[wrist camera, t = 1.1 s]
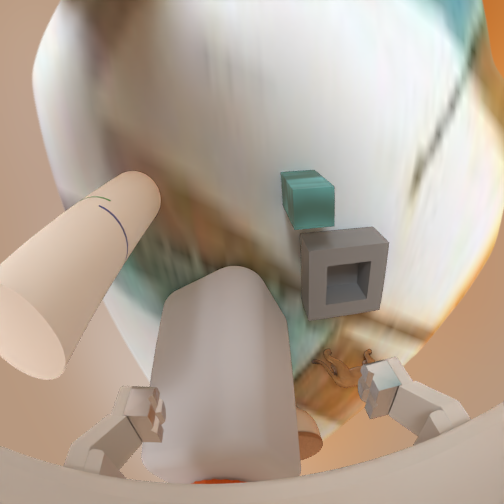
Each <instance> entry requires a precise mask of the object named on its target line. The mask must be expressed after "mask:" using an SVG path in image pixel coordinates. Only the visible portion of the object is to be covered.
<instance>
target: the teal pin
mask: <svg viewBox="0 0 504 504" xmlns="http://www.w3.org/2000/svg"><path fill="white" fill-rule="evenodd" d="M281 183H282V199H283V206H284V208H285V210H286V212H287V215H288V217H289V219H290V221H291V223H292V225H293V228H294V230H299V229H310V228H320V227H331V226H334V209H335V197H334V186H333V185H332V184H331V183H329V182H328V181H327V180H326V179H325V178H323V177H322V176H321V175H320V174H319V173H317V172H316V171H315V170H305V171H291V172H281Z"/></svg>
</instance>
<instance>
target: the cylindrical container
mask: <svg viewBox="0 0 504 504" xmlns="http://www.w3.org/2000/svg"><path fill="white" fill-rule="evenodd" d="M160 204H161V196H160V192H159V189H158V187H157V185H156V183H155V182H154V181H153V180H152V179H151V178H150V177H149V176H147V175H146V174H144V173H141V172H138V171H127V172H124V173H122V174H120V175H118V176H117V177H115V178H113V179H112V180H110V181H109V182H107V183H106V184H104V185H103V186H101V187H100V188H98V189H97V190H95V191H94V192H92V193H91V194H89V195H88V196H86V197H85V198H83V199H82V200H80V201H79V202H78V203H76V204H75V205H73V206H72V207H71V208H69V209H68V210H66V211H65V212H64V213H62V214H61V215H60V216H58V217H57V218H56V219H54V220H53V221H52V222H50V223H49V224H48V225H47V226H45V227H44V228H43V229H41V230H40V231H39V232H38V233H36V234H35V235H34V236H33V237H31V238H30V239H29V240H28V241H27V242H25V243H24V244H23V245H22V246H21V247H20V248H18V249H17V250H16V251H15V252H13V253H12V254H11V255H10V256H9V257H8V258H7V259H6V260H4V261H3V262H2V263H1V264H0V356H1V357H2V358H3V359H4V360H6V361H7V362H8V363H9V364H11V365H12V366H14V367H15V368H16V369H18V370H20V371H22V372H23V373H25V374H28V375H30V376H32V377H35V378H39V379H48V380H50V379H55V378H57V377H59V376H61V375H62V373H63V372H64V370H65V368H66V366H67V364H68V362H69V360H70V358H71V356H72V354H73V352H74V350H75V348H76V346H77V344H78V343H79V341H80V339H81V337H82V335H83V333H84V331H85V330H86V328H87V326H88V324H89V322H90V320H91V319H92V317H93V315H94V313H95V312H96V310H97V308H98V306H99V305H100V303H101V301H102V299H103V298H104V296H105V294H106V293H107V291H108V289H109V288H110V286H111V284H112V283H113V281H114V279H115V278H116V276H117V275H118V273H119V271H120V270H121V268H122V267H123V265H124V263H125V262H126V260H127V259H128V257H129V256H130V254H131V252H132V251H133V249H134V248H135V246H136V245H137V243H138V242H139V240H140V239H141V237H142V236H143V234H144V233H145V231H146V230H147V228H148V227H149V225H150V224H151V223H152V221H153V220H154V218H155V217H156V215H157V213H158V212H159V209H160Z"/></svg>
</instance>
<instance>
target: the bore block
mask: <svg viewBox="0 0 504 504" xmlns="http://www.w3.org/2000/svg"><path fill="white" fill-rule="evenodd" d="M300 239H301V299H302V302H303V305H304V308H305V311H306V315H307V318H308V321H311V320H318V319H325V318H332V317H339V316H345V315H351V314H357V313H363V312H369V311H375V310H379V309H380V303H381V297H382V291H383V285H384V278H385V271H386V264H387V256H388V247H389V242H388V241H387V240H386V239H385V238H384V237H383V236H382V235H381V234H380V233H379V232H378V231H377V230H376V229H375V228H374V227H365V228H354V229H343V230H333V231H323V232H312V233H302V234H300Z"/></svg>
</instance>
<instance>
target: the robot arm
mask: <svg viewBox="0 0 504 504" xmlns="http://www.w3.org/2000/svg"><path fill="white" fill-rule="evenodd" d="M360 372H361V374H362V376H361V377H360V378H359V380H358V392H359V396H360V398H361V400H362V401H364V402H366V405H365V409H366V412H367V414H368V416H369V418H370V419H373V418H377V417H381V416H385V415H388V414H389V416H390V417H391V418H393V419H394V420H395V421H397V422H398V423H400V424H401V425H402V426H404V427H405V428H407V429H408V430H410V431H411V432H412V433H414V434H415V435H417V436H418V438H417V439H416V441H415V443H414V444H413V446H411V447H409V448H406V449H403V450H400V451H397V452H394V453H391V454H388V455H385V456H382V457H379V458H376V459H372V460H369V461H365V462H362V463H358V464H354V465H351V466H346V467H342V468H338V469H334V470H329V471H325V472H319V473H314V474H309V475H304V476H297V477H290V478H283V479H276V480H267V481H257V482H245V483H227V484H179V483H161V482H149V481H139V480H131V479H126V477H125V476H124V475H123V474H122V473H121V472H120V471H119V470H120V468H121V467H122V466H123V465H124V464H125V463H126V462H127V460H128V459H129V458H130V457H131V455H133V453H134V452H135V451H136V450H137V449H138V448H139V447H140V445H141V444H142V442H158V443H162V438H163V432H164V429H163V427H162V424H163V423H164V422H165V419H166V408H165V404H164V402H163V400H162V399H160V398H159V396H160V392H159V390H158V388H157V387H137V386H122V387H121V388H120V389H119V392H118V395H117V398H116V401H115V404H114V407H113V410H112V413H111V415H107V416H106V417H104V418H103V419H102V420H101V421H99V422H98V423H97V424H96V425H94V426H93V427H92V428H91V429H90V430H88V431H87V432H86V433H85V434H83V435H82V436H81V437H79V438H78V439H77V440H76V441H75V442H73V443H72V444H71V446H70V449H69V452H68V455H67V458H66V461H65V463H64V466H59V465H56V464H52V463H48V462H45V461H42V460H39V459H36V458H32V457H29V456H26V455H24V454H21V453H18V452H15V451H12V450H10V449H8V448H5V447H1V446H0V504H504V402H502V403H500V404H499V405H497V406H495V407H494V408H492V409H490V410H488V411H487V412H485V413H483V414H481V415H479V416H478V417H476V418H474V419H472V420H471V418H470V417H469V416H468V414H467V412H466V411H465V409H464V408H463V407H462V405H461V404H460V402H459V401H458V400H456V399H454V398H451V397H449V396H447V395H445V394H443V393H441V392H439V391H437V390H434V389H432V388H430V387H428V386H426V385H424V384H422V383H420V382H418V381H414V382H413V380H412V379H411V377H410V376H409V374H408V373H407V371H406V370H405V368H404V367H403V365H402V364H401V362H400V361H399V359H398V358H397V357H392V358H388V359H385V360H380V361H376V362H372V363H368V364H364V365H362V367H361V371H360Z"/></svg>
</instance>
